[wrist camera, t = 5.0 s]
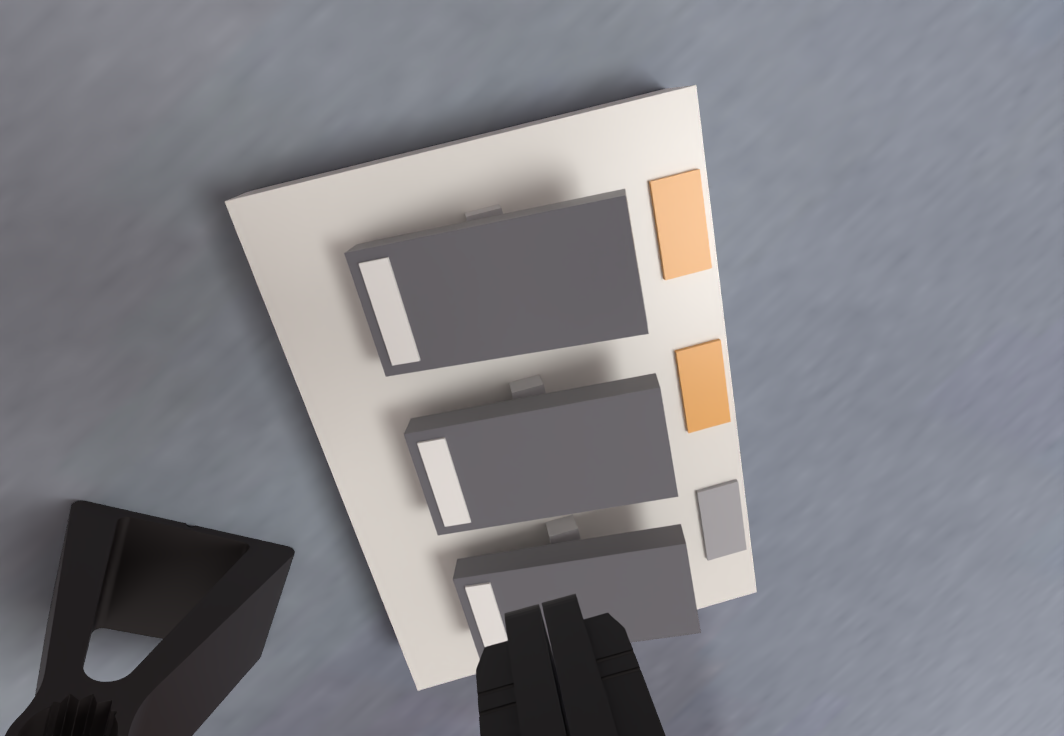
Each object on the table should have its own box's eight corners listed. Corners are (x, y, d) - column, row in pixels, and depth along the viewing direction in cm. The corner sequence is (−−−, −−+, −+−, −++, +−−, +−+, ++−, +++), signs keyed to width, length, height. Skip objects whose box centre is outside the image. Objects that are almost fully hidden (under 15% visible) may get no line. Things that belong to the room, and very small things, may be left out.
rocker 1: (357, 244, 22) (343, 253, 21) (625, 188, 21) (625, 195, 19) (396, 362, 24) (384, 377, 23) (647, 320, 22) (649, 335, 21)
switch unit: (247, 191, 24) (215, 205, 21) (666, 88, 25) (707, 83, 21) (418, 641, 33) (417, 708, 29) (729, 552, 33) (766, 606, 30)
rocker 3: (457, 558, 27) (452, 581, 26) (680, 523, 26) (686, 545, 25) (483, 640, 28) (480, 664, 27) (695, 610, 27) (701, 634, 26)
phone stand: (52, 611, 29) (-179, 917, 18) (77, 497, 27) (-161, 757, 16) (262, 651, 31) (172, 943, 20) (296, 548, 30) (219, 805, 19)
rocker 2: (410, 418, 24) (402, 435, 23) (655, 372, 23) (660, 388, 22) (443, 516, 26) (437, 537, 25) (673, 478, 25) (678, 498, 24)
